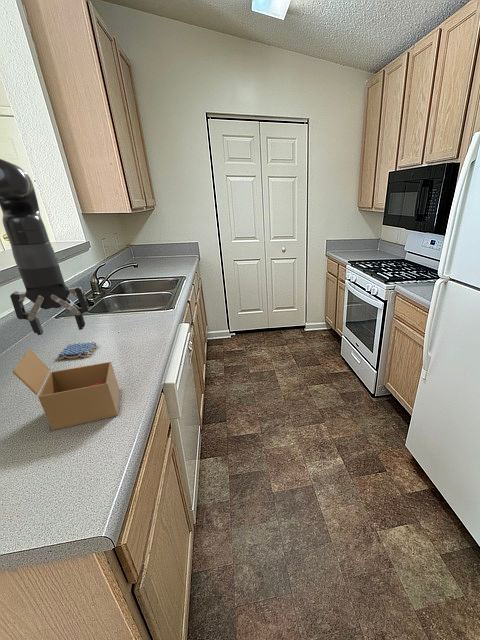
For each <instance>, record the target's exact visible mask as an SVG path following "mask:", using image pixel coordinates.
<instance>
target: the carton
mask: <svg viewBox="0 0 480 640" xmlns="http://www.w3.org/2000/svg"><path fill="white" fill-rule="evenodd" d="M98 382H105V384H100V385H95V386H91V385H92V384H94V383H98ZM120 393H121V392H120V386H119V384H118V381H117V378H116V374H115V371H114V367H113V364H112V361H108V362H101V363H96V364H89V365H84V366H79V367H72V368H67V369H60V370H55V371H49V373H48V375H47V377H46V379H45V381H44V383H43V385H42V387H41V389H40V391H39V393H38V397H37V398H38V400H39V402H40V405H41V407H42V409H43V412H44V414H45V416H46V418H47V421H48V423H49V426H50V428H51V430H52V431H55V430H59V429H63V428H68V427H73V426H77V425H82V424H86V423H90V422H95V421H98V420H103V419H108V418H113V417H117V416H118V414H119V402H120Z"/></svg>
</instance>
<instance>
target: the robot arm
mask: <svg viewBox="0 0 480 640" xmlns="http://www.w3.org/2000/svg"><path fill="white" fill-rule="evenodd" d="M38 201H39V200H38V198H37V194H36V191H35V187H34V184H33V181H32V179H31V177H30V175H29V173H27V172H26V171H25V170H24V169H23V168H22V167H21V166H18V165H17V164H14V163H12V162H10V161H7V160H5V159H2V158H0V210H1V212H2V225H3V229H4V231H5V234H6V236H7V237H6V238H7V239H8V242H9V244H10V248H11V253H12V256H13V258H14V261H15V264H16V267H17V269H18V273H19V275H20V278H21V280H22V283H23V286H24V289H25V291H24V292H19V291H13V292H12V293H11V294H10V295H9V298H10V300H11V304H12V307H13V309H14V312H15V316H16V318H17V319H18V320H25V321H26V320H27V321H28V322H29V324H30V327H31V329H32V332H33V333H34V334H37V336H42V335H44V329H43V328H42V324H41V321H40V319H39V317H38V315H39V312H40V311H41V309H43V310H50V309H61V308H62V307H63V308H64V309H66V310H68V311H70V312H71V313H73V315H74V318H75V321H76V325H77V329H78V330H79V331H82V330H84V328H85V327H86V321H85V318H84V313H87V312H89V310H90V305H89V302H88V300H87V297H86V294H85V292H84V289H83V287H82V286H81V285H77V286H75V287H67V285H66V283H65V280H64V279H65V278H64V277H63V274H62V271H61V267H60V265H59V260H58V257H57V255H56V253H55V250H54V248H53V246H52V244H51V241H50V238H49V235H48V232H47V228H46V225H45V223H44V221H43V218H42V216H41V212H40V211H41V210H40V207H39V202H38ZM70 294H72V295H73V296H74V297H75V298H77V299H78V302H79V304H80V307H79V306H78V305H77V304H76V303H75V302H73V301H72V300H71V299H70V298H68V297H69V296H70ZM26 299H28V300H29V301H30V302H32V303H33V305H32V307H31V309H30V312H27V311H26V309H25V305H24V302H25V301H26Z"/></svg>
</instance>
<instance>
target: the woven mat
mask: <svg viewBox="0 0 480 640" xmlns="http://www.w3.org/2000/svg"><path fill="white" fill-rule="evenodd" d="M97 348H98V344H97V342H94V341H92V342H86V343H85V342H82V343H81V342H79V343H73V344H71V343H69V344H68V345H66V346H65V347H64V349H63V350H61V351H60V352H59V353H58V359H59V360H64V359H77V358H80V357H82V358H89V357H90V355H92V354H93V351H95V350H94V349H97Z"/></svg>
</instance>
